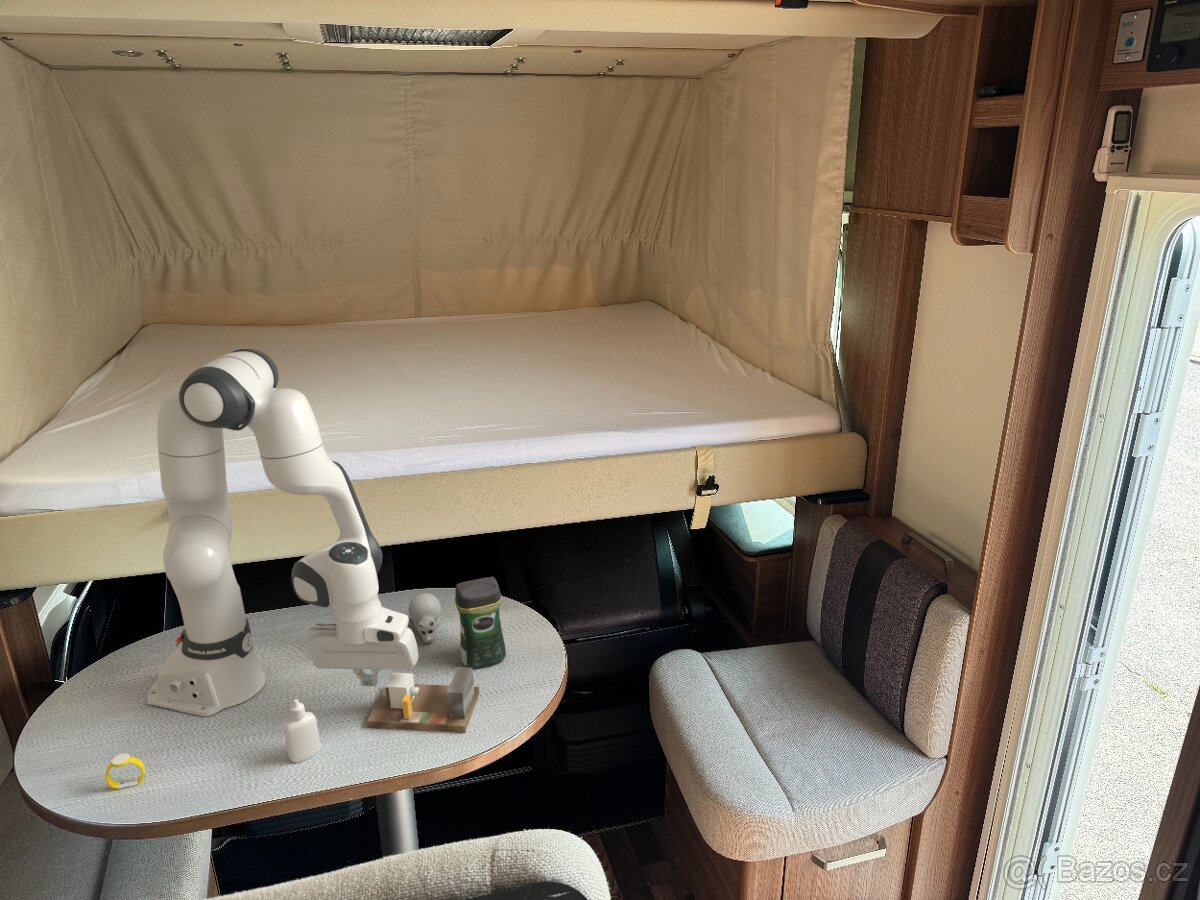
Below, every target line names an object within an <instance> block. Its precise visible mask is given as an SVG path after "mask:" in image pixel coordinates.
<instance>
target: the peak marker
mask: <svg viewBox="0 0 1200 900" xmlns="http://www.w3.org/2000/svg"><path fill="white" fill-rule="evenodd" d="M402 705H403V713H404V719H409V718H410V716H411V714H412V704H411V696H410V695H405V696H404V698H403V700H402Z"/></svg>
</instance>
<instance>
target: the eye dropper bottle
mask: <svg viewBox="0 0 1200 900" xmlns="http://www.w3.org/2000/svg"><path fill="white" fill-rule="evenodd" d="M289 712H290V718H288V719H287V721H286V722H285V723H284V725H283V732H284V733H283V734H284V740H285V744H286V751H287V755H288V759H289V760H290V761H291V762H292V763H293V764H296V763H297V764H298V763H301V762H305V761H307V760H309V759H311V758H313V757H314V756H315V755H317V754H318V753H319V752H320V751H321V749H322V745H321V739H320V733H319V729H318V722H317V717H316V715H315V714H314V713H313V712H312V711H306V708H305V704H304V703H302V702H299V700H298V698H295V699H294V700H293V703H292V704H291V705H290V708H289Z"/></svg>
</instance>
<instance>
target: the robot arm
mask: <svg viewBox="0 0 1200 900" xmlns="http://www.w3.org/2000/svg"><path fill="white" fill-rule="evenodd" d="M279 379H280V375H279V369H278V367H277V365H276V363H275V361H273V359H272V358H271V357H270V356H269V355H268V354H267V353H265V352H262V351H261V350H258V349H255V348H254V349H253V348H243V349H242V348H239V349H236V350H233V351H232V352H231V351H230V352H229V353H226V354H222V355H220V356H218V357H215V358H213V359H212V360H211V361H209V362H208V363H207V364H205V365H203V366H202V367H200V368H199V367H198V368H197V369H195V370H193V371H192V372H190V374H188V376H187V377H186V378H185V379H184V380H183V382H182V384H181V386H180V387H179V388H175V389H173V390H171V391H169V392H167V393H166V394H165V395H163V397H162V398H161V400H160V402H159V409H158V413H157V414H158V415H157V433H156V435H157V436H156V438H157V440H156V441H157V451H158V453H157V454H158V462H159V463H158V464H159V465H158V466H159V474H160V482H161V483H160V487H161V491H162V493H163V495H164V499H165V503H166V508H167V514H168V531H167V532H168V533H167V538H166V542H165V546H164V549H163V553H162V559H163V561H162V562H163V567H164V572H165V574H166V577H167V579H168V580H169V582H170V584H171V587H172V588H173V591H174V593H175V595H176V597H177V600H178V603H179V607H180V612H181V617H182V620H183V625H184V629H183V630H182V631H181V632H180V635H179V636H178V637H177V638H176V639H175V641H174V642H175V643H176V644H175V646H176V647H177V646H179V644H180V643H181V642H182V643H181V645H180V646H179V647H178V648H177V649H176V650H174V651H173V652H172V653H171V654H170V655H169V656H167V658H166V659H165V660H164V661H163V663H162V664H161V665H160V667H159V670H158V672H157V674H156V675H157V677H156V678H157V679H156V681H155V682H154V684H153V685H152V686H151V688H150V689H149V691H148V693H147V697H146V700H147V704H148V703H149V704H151V705H150V706H152V705H156V706H155V707H157V706H160V707H159V708H161V707H165V708H164V709H166V708H170V709H169V710H171V709H174V710H173V711H176V710H178V711H177V712H181V711H183V712H182V713H185V712H186V713H187V714H191V715H196V716H201V717H211V716H213V715H214V714H217V713H218V712H221V711H222V710H224V709H227V708H231V707H234V706H236V705H237V706H238V704H241V703H244V702H246V701H249V699H251V698H252V697H254V696H255V695H257V694H258V693H259V692H260V691H261V690H262V689H263V687H264V686H265V684H266V680H267V676H266V673H265V672H264V670H263V668H262V666H261V664H260V663H259V660H258V658H257V656H256V653H255V651H254V646H253V636H252V630H251V626H250V622H249V619H248V618H247V616H246V612H245V607H244V602H243V598H242V597H243V596H242V592H241V587H240V585H239V584H238V582H237V579H236V576H235V572H234V569H233V564H232V561H231V554H230V553H231V540H232V539H231V537H232V531H233V525H232V514H231V505H230V497H229V491H228V483H227V470H226V469H227V468H226V454H225V453H226V452H225V442H224V441H225V440H224V429H227V430H231V431H242V430H244V429H245V428H246V427H248V428H249V429H250V430H251V431H252V433H253V434H254V437H255V440H256V443H257V447H258V453H259V455H260V460H261V465H262V468H263V471H264V474H265V477H266V478H267V480H268V482H269V483H270V484H271V485H272V486H274V487H275V488H276V489H278V490H279V491H282V492H284V493H287V494H291V495H297V496H298V495H299V496H323V497H324V498H325V500H326V501H327V502H328V504H329V507H330V509H331V512H332V514H333V517H334V519H335V521H336V523H337V526H338V528H339V531H340V533H339V536H338V538H337V539H336V540H335V541H333V542H331V543H329V544H327V545H326V546H324V547H321V548H320V549H317V550H315V551H313V552H311V553H309V554H307V555H306V556H304V557H302V558H301V559H299V560H298V561H296V562H294V565H293V567H292V569H291V584H292V588H293V591H294V593H295V595H296V597H297V598H298V599H299V600H300V601H301V602H304V603H306V604H309V605H313V606H316V607H320V608H329V607H330V608H331V609H333V610H332V611H333V618H334V623H321V622H319V623H315V624H314V625H312V626H310V628H309V629H308V638H309V640H310V642H311V660H312V664H313V666H314V667H315V668H316V669H319V670H320V669H322V670H323V669H326V670H329V669H330V670H331V669H337V670H352V673H353V675H355V677H356V678H357V679H358V680H359V682H360V686H361V687H376V686H377V685H378V683H379V678H378V674H379V672H380V670H391V671H393V670H399V671H408V670H409V671H411V670H412V669H413V668H415V665H416V664H417V662H418V660H419V650H418V643H417V640H416V637H415V634H414V632H413V630H412V629H411V628H410V627H408V626H409V623H410V620H409V619H410V618H409V616H408V615H407V614H405V613H401V612H398V611H394V610H391V609H389V608H386V607H384V606H382V603H381V601H380V599H379V579H378V574H379V573H380V570H381V567H382V562H383V551H382V549H381V546H380V544H379V542H378V541H377V538H376V537H375V536H374V534H373V532H372V530H371V529H370V526H369V524H368V521H367V519H366V516H365V513H364V511H363V509H362V505H361V504H360V502H359V501H360V500H359V498H358V496H357V494H356V493H357V492H356V491H355V489H354V486H353V484H352V482H351V480H350V477H349V475H348V473H347V472H346V470H345V469H344V467H343V466H342V465H341V464H340V463H339V462H338V461H336V460H332V459H331V458H330V456H329V455H328V453H327V451H326V449H325V446H324V442H323V438H322V434H321V431H320V427H319V424H318V422H317V419H316V417H315V414H314V411H313V409H312V406H311V404H310V402H309V400H308V399H307V397H306V396H305V395H304V394H303V393H302V392H301V391H299V390H296V389H293V388H286V387H285V388H284V387H282V388H281V387H280V388H277V387H278V385H279ZM365 670H370V672H371V673H366V672H365ZM149 704H148V705H149Z"/></svg>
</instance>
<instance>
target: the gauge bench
mask: <svg viewBox="0 0 1200 900" xmlns="http://www.w3.org/2000/svg"><path fill="white" fill-rule="evenodd" d="M473 671H474V670H473V668H470V667H467V666H465V667H461V666H457V667H456V670H455V672H454V674H453V676H452V679H451V682H450V684H449V685H447V684H446V685H445V684H428V683H427V684H421V683H414V687H419V689H420V692H419V695H418V696H415V697H414V699H413V701H412V703H411V704H412V714H411V716H410V718H409V719H404V716H403V719H399V715H400V713H401V711H402V709H399V708H389V707H388V705H387V697H386V689H385V687H386V685H387V684H388V682H386V685H385V686H384V689H383V690H382V692H381V694H380V696H379V698H378V700H377V702H376V704H375V705H374V707H373V709H372V711H371V713H370V715H369V716H368V718H367V721H366V723H367V728H368V729H387V730H404V731H405V730H407V731H422V732H423V731H424V732H440V733H441V732H444V733H460V734H463V733H466V731H467V729H468V726H469V723H470V721H471V718H472V715H473V712H474V709H475V707H476V705H477V702H478V699H479V696H480V686H475V685H474V683H475V681H474V672H473Z"/></svg>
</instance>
